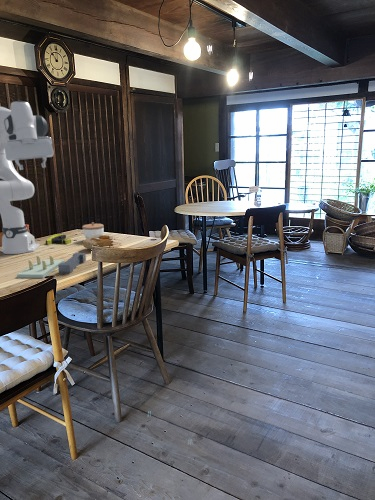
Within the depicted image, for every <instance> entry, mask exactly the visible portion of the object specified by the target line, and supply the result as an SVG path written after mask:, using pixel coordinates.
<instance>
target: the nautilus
mask: <svg viewBox="0 0 375 500" xmlns="http://www.w3.org/2000/svg"><path fill="white" fill-rule="evenodd" d="M118 238H119V237H114V236H110V235H105V234H103V235H102V234H101V235H94V236H91V237H89V238H87V239H86V238H85V239H84V240H83V242H82V243H81V244H82V246H83V248H85V249H90V250H92V249H91V248H92V245H99V246H109V247H113V248H114V247H115V248H119V247H121V246H122V244H119V242H118V241H119V239H118ZM114 241H116V243H114ZM120 241H122V239H120Z"/></svg>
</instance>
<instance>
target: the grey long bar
mask: <svg viewBox="0 0 375 500" xmlns="http://www.w3.org/2000/svg"><path fill="white" fill-rule="evenodd" d="M85 262H87V256H86V252H74V253H73V254H72V256H71V257H70V258H68V259H67V260H66V261H65V262H64V263H60V264H59V265H58V268H57V270H58V274H66V275H67V274H69V275H70V274H72V273H73V272H74V269H75V268H77V267H78V266H79V265H81V264H84V263H85Z"/></svg>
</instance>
